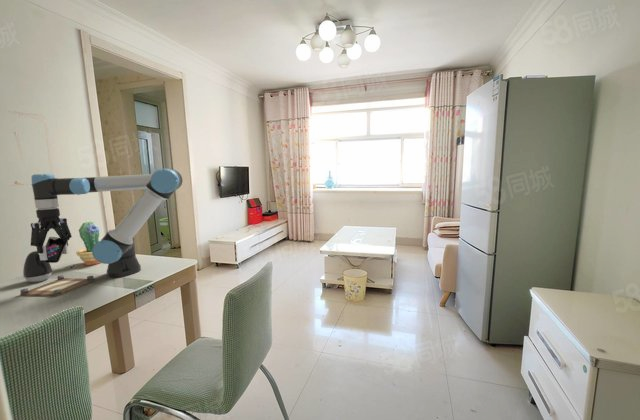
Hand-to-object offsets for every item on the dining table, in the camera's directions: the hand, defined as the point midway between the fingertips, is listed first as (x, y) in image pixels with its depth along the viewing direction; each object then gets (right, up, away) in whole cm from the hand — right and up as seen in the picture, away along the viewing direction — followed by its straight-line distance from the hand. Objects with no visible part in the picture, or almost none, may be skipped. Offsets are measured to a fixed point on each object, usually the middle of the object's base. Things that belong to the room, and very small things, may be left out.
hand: (54, 256), depth 128 cm
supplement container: (0, -3, 0) cm, 3 cm away
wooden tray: (0, -15, +2) cm, 15 cm away
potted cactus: (-14, -10, +39) cm, 43 cm away
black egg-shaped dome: (-19, -14, +12) cm, 26 cm away
